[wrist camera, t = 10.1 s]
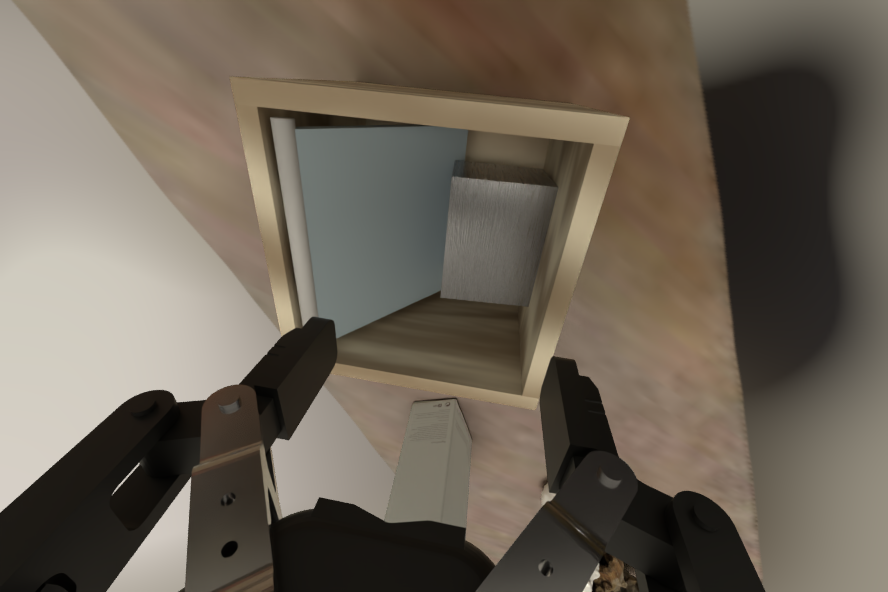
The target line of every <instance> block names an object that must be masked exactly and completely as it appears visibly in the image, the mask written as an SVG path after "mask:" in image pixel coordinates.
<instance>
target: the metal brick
mask: <svg viewBox="0 0 888 592" xmlns="http://www.w3.org/2000/svg"><path fill="white" fill-rule="evenodd" d="M557 191H558V186H557V185H556V184H555V183H554V182H553V180H552V179H551V178H550V177H549V176H548V175H547V173H546V172H545V171H544V170H543V169H539V168H529V167H519V166H509V165H499V164H489V163H479V162H469V161H459V160H455V162H454V167H453V172H452V178H451V188H450V199H449V210H448V221H447V232H446V243H445V253H444V264H443V275H442V286H441V297H440V298H448V299H458V300H467V301H477V302H487V303H496V304H506V305H515V306H525V307H529V303H530V299H531V295H532V291H533V287H534V283H535V279H536V275H537V271H538V267H539V263H540V259H541V255H542V251H543V247H544V243H545V239H546V235H547V231H548V227H549V223H550V219H551V215H552V211H553V207H554V203H555V199H556V195H557Z"/></svg>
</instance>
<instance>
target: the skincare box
mask: <svg viewBox="0 0 888 592" xmlns="http://www.w3.org/2000/svg"><path fill="white" fill-rule="evenodd" d="M471 448H472V439H471V436H470V433H469V431H468V428H467V425H466V423H465V420H464V418H463V415H462V412H461V410H460V408H459V406H458V403H457V400H456V399H448V400H438V401H421V402H414V403H413V405H412V409H411V413H410V417H409V421H408V425H407V429H406V433H405V437H404V441H403V445H402V449H401V453H400V457H399V462H398V466H397V470H396V474H395V478H394V482H393V486H392V491H391V495H390V499H389V503H388V507H387V511H386V515H385V519H384V521H385V522H388V523H398V522H411V521H425V520H430V521H435V522H440V523H445V524H450V525H454V526H459V527H464V528H466V524H467V509H468V494H469V478H470V463H471ZM465 540H466V533H465Z"/></svg>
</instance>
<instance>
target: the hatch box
mask: <svg viewBox="0 0 888 592" xmlns="http://www.w3.org/2000/svg"><path fill="white" fill-rule="evenodd" d="M230 82H231V87H232V92H233V97H234V102H235V107H236V112H237V117H238V122H239V127H240V132H241V137H242V142H243V147H244V152H245V157H246V162H247V167H248V172H249V177H250V182H251V187H252V192H253V197H254V202H255V207H256V212H257V217H258V222H259V227H260V232H261V237H262V242H263V247H264V252H265V257H266V262H267V267H268V272H269V276H270V281H271V286H272V291H273V296H274V301H275V306H276V311H277V316H278V321H279V326H280V331H281V336H283V335H284V334H286V333H288V332H289V331H291V330H293V329H294V328H302V327H303V324H302V318H301V311H300V305H299V299H298V292H297V286H296V279H295V273H294V267H293V260H292V254H291V248H290V241H289V235H288V229H287V222H286V216H285V210H284V203H283V197H282V191H281V184H280V178H279V171H278V165H277V159H276V152H275V146H274V140H273V133H272V127H271V121H270V117H290V118H294V119H295V125H296V127H301V126H361V125H429V126H438V127H447V128H457V129H466V130H468V136H467V146H466V155H465V161H469V162H479V163H489V164H499V165H509V166H519V167H529V168H539V169H543V170H544V171H545V172H546V173H547V175H548V176H549V177H550V178H551V179H552V180H553V182H554V183H555V184H556V185H557V186H558V191H557V195H556V199H555V203H554V207H553V211H552V215H551V219H550V223H549V227H548V231H547V235H546V239H545V243H544V247H543V251H542V255H541V259H540V263H539V267H538V271H537V275H536V279H535V283H534V287H533V291H532V295H531V299H530V303H529V307H525V306H515V305H506V304H496V303H487V302H477V301H467V300H458V299H448V298H440V297H441V291H438V292H436V293H434V294H432V295H430V296H428V297H425V298H423V299H421V300H419V301H417V302H415V303H412V304H410V305H408V306H406V307H404V308H402V309H399V310H397V311H395V312H393V313H391V314H389V315H386V316H384V317H382V318H380V319H378V320H376V321H373V322H371V323H369V324H367V325H365V326H363V327H360V328H358V329H356V330H354V331H352V332H350V333H347V334H345V335H343V336H341V337H339V338H337V339H336V341H337V351H338V353H337V360H336V363H335V366H334V368H333V370H332V371H331V373H330V374H335V375H341V376H347V377H352V378H358V379H363V380H369V381H375V382H380V383H386V384H391V385H397V386H403V387H408V388H414V389H419V390H425V391H431V392H436V393H442V394H447V395H453V396H458V397H464V398H470V399H475V400H481V401H486V402H492V403H498V404H503V405H509V406H514V407H520V408H526V409H531V410H536V407H537V404H538V400H539V397H540V392H541V387H542V384H543V381H544V378H545V375H546V371H547V368H548V365H549V362H550V359H551V357H552V356H553V354H554V351H555V348H556V345H557V342H558V339H559V335H560V332H561V329H562V326H563V323H564V320H565V317H566V314H567V311H568V308H569V304H570V301H571V298H572V295H573V292H574V289H575V286H576V283H577V280H578V277H579V274H580V270H581V267H582V264H583V261H584V258H585V255H586V252H587V249H588V246H589V243H590V239H591V236H592V233H593V230H594V227H595V224H596V221H597V218H598V215H599V212H600V209H601V205H602V202H603V199H604V196H605V193H606V190H607V187H608V184H609V181H610V178H611V174H612V171H613V168H614V165H615V162H616V159H617V156H618V153H619V150H620V147H621V144H622V140H623V137H624V134H625V131H626V128H627V125H628V122H629V119H630V118H629V117H625V116H621V115H617V114H613V113H609V112H605V111H600V110H596V109H592V108H588V107H584V106H580V105H576V104H572V103H563V102H553V101H543V100H533V99H523V98H513V97H503V96H493V95H483V94H473V93H463V92H453V91H443V90H433V89H423V88H413V87H404V86H394V85H384V84H374V83H364V82H352V81H327V80H302V79H277V78H252V77H230Z"/></svg>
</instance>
